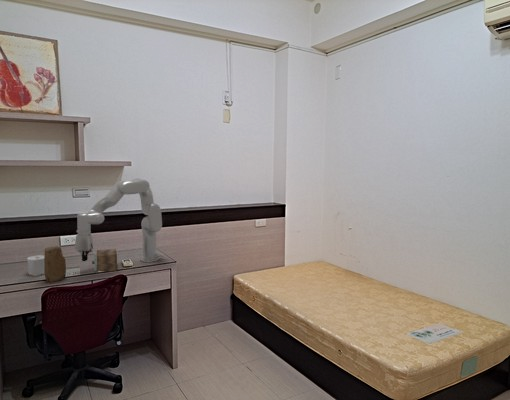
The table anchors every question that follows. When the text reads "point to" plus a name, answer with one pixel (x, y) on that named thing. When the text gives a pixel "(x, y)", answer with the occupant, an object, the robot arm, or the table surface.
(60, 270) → the block
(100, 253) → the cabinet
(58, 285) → the table surface
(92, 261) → the green rectangular block
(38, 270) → the toilet tissue
